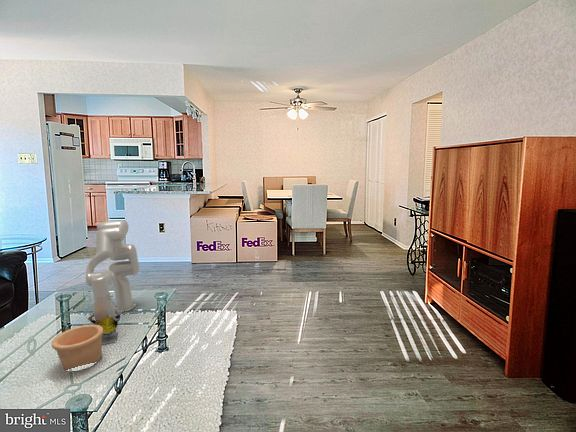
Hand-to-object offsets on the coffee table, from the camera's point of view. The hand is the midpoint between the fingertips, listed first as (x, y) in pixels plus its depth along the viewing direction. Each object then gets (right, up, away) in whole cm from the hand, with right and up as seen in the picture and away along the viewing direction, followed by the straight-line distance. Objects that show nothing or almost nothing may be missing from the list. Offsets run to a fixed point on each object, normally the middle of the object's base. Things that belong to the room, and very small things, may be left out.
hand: (107, 328), depth 197 cm
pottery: (-2, -11, -20) cm, 22 cm away
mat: (-5, -7, -1) cm, 9 cm away
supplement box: (0, -3, +1) cm, 3 cm away
